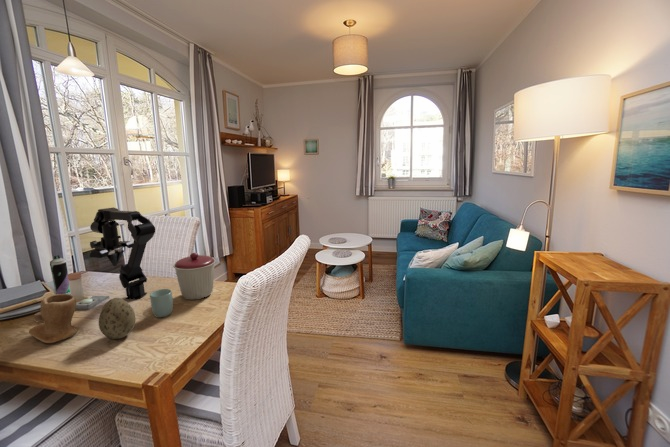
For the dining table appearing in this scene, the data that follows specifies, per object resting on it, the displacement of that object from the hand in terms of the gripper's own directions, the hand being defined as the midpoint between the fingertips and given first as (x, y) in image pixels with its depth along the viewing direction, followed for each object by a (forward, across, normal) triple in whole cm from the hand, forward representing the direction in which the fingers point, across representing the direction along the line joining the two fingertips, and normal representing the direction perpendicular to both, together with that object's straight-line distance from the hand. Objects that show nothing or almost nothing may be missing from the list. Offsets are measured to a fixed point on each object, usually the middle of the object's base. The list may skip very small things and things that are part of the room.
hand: (115, 266), depth 146 cm
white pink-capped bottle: (+12, +12, -9) cm, 19 cm away
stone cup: (+13, +36, +9) cm, 40 cm away
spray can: (+13, +9, -21) cm, 26 cm away
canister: (+13, -2, +40) cm, 42 cm away
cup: (+13, +17, +37) cm, 43 cm away
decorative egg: (+13, +34, +33) cm, 49 cm away
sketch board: (+13, +14, -6) cm, 20 cm away
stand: (+13, +26, -6) cm, 30 cm away
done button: (+12, +16, -1) cm, 20 cm away
